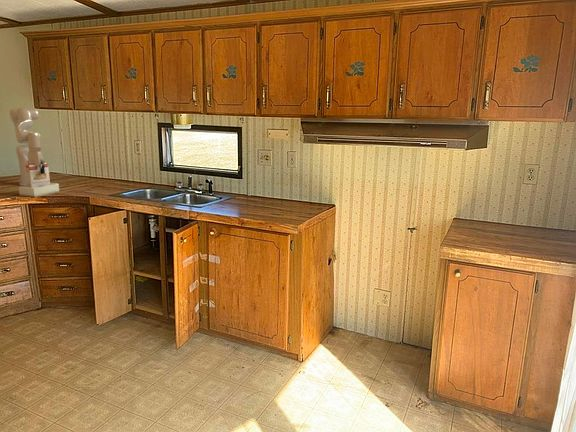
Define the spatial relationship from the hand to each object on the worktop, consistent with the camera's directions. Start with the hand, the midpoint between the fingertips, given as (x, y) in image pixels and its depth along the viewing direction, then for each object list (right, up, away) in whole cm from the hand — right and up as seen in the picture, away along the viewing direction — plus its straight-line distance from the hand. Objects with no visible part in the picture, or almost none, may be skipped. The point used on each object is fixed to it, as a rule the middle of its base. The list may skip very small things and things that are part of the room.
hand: (37, 173), depth 316 cm
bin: (0, -14, +4) cm, 15 cm away
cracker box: (0, -14, +4) cm, 14 cm away
